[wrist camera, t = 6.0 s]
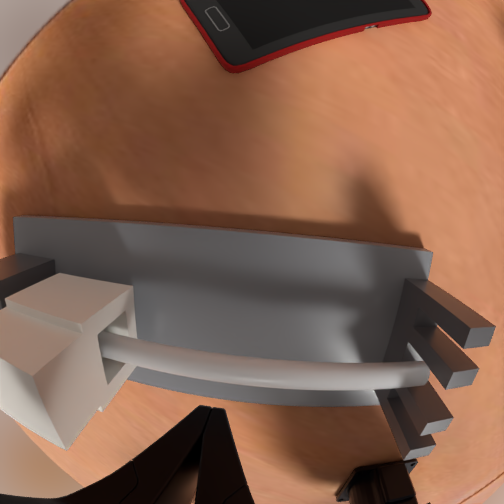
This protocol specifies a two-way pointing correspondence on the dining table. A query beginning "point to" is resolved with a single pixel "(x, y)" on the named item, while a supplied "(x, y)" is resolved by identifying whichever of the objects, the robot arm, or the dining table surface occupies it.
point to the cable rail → (269, 315)
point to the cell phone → (289, 24)
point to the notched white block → (62, 353)
